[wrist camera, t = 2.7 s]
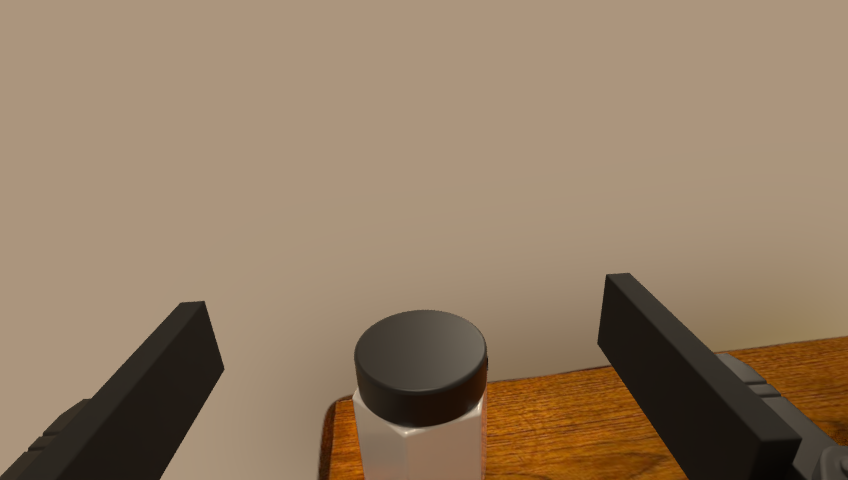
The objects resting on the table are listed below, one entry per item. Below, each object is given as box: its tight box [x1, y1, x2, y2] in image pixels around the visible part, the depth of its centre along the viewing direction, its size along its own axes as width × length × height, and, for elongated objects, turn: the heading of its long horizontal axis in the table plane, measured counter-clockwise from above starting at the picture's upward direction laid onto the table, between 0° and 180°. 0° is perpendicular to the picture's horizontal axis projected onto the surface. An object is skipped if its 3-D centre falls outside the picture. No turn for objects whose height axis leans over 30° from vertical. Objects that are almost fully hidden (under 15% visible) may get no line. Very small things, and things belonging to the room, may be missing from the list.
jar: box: [353, 310, 488, 480], centre depth 28 cm, size 9×8×12 cm
